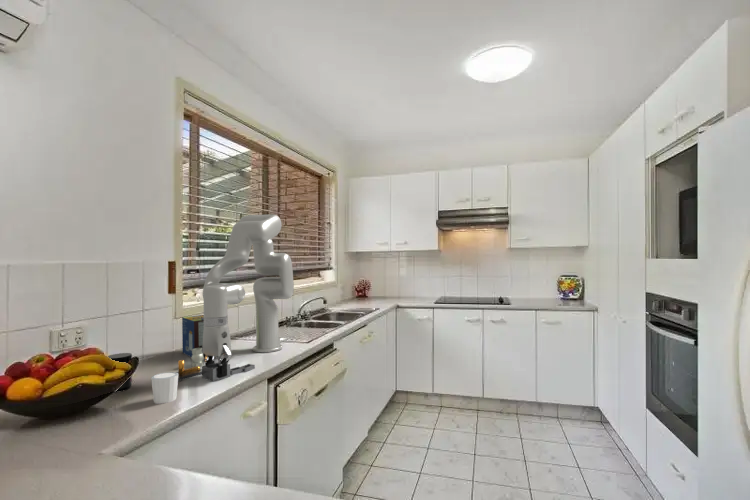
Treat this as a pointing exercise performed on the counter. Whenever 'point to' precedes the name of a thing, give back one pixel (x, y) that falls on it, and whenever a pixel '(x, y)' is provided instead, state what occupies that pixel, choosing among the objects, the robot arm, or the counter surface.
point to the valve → (197, 357)
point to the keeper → (187, 371)
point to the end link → (213, 372)
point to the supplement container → (125, 358)
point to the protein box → (192, 333)
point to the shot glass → (164, 387)
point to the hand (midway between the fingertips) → (216, 374)
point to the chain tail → (241, 369)
